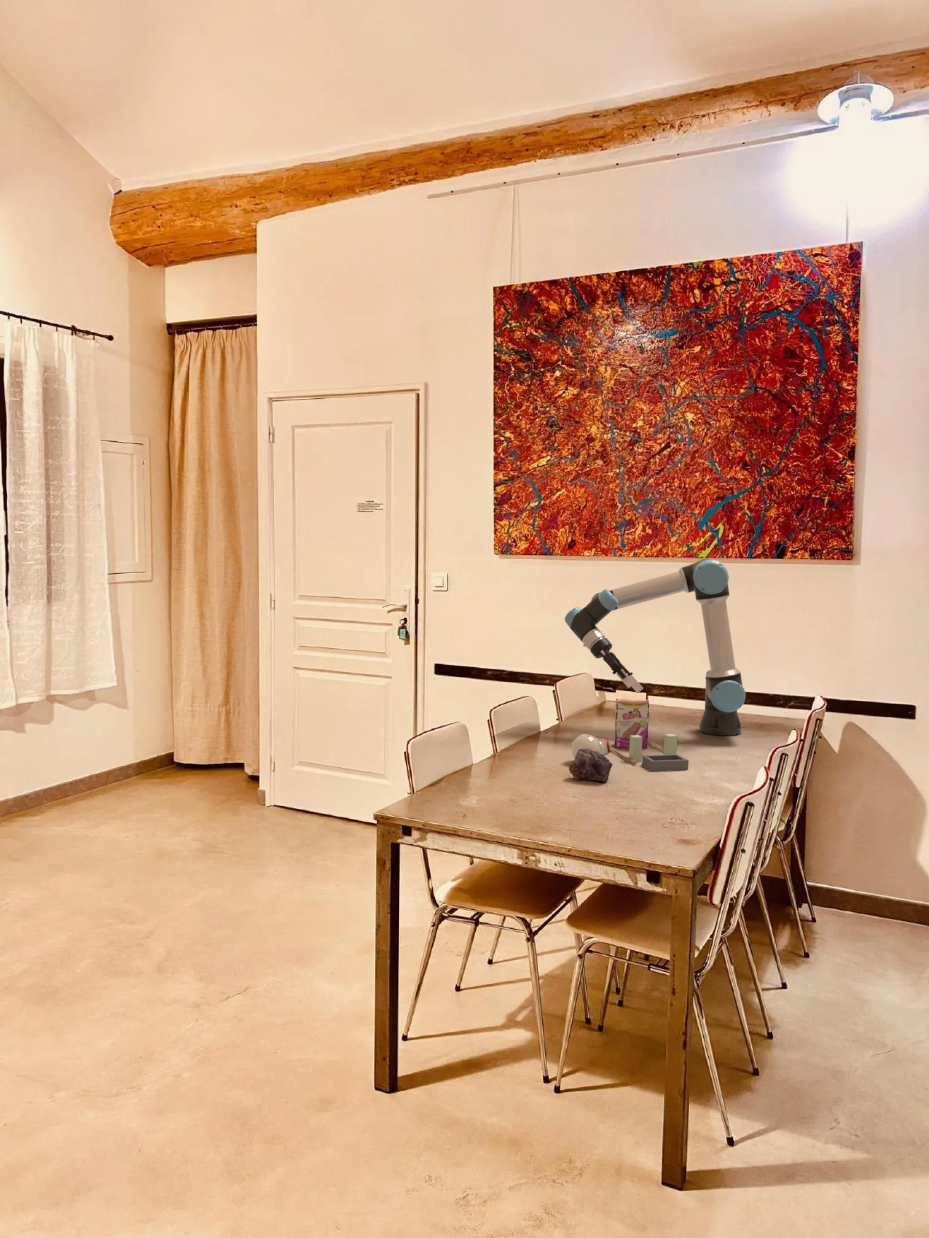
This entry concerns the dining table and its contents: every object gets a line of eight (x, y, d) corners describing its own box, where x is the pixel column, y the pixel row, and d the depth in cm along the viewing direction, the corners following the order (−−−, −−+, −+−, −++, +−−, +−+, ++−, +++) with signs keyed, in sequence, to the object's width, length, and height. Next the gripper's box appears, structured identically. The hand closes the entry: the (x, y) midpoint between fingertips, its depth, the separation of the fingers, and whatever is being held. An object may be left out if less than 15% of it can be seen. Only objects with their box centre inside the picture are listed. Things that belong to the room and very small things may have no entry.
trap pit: (677, 763, 309) (677, 754, 309) (688, 769, 301) (688, 760, 301) (642, 764, 306) (642, 755, 306) (652, 771, 299) (652, 761, 298)
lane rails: (652, 744, 335) (652, 741, 335) (685, 762, 310) (685, 759, 309) (603, 746, 331) (603, 743, 331) (633, 765, 306) (633, 761, 306)
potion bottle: (573, 770, 304) (596, 766, 316) (596, 755, 299) (619, 753, 311) (560, 743, 307) (584, 741, 319) (583, 729, 302) (607, 727, 314)
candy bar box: (614, 748, 329) (616, 700, 327) (613, 744, 334) (615, 698, 332) (648, 749, 328) (649, 701, 326) (646, 746, 333) (648, 699, 331)
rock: (602, 789, 281) (613, 780, 290) (607, 761, 280) (618, 753, 289) (565, 778, 286) (576, 769, 295) (570, 750, 285) (581, 743, 294)
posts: (672, 757, 316) (673, 733, 315) (676, 760, 313) (677, 735, 312) (629, 759, 313) (629, 735, 312) (632, 761, 310) (633, 737, 309)
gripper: (599, 656, 357) (636, 699, 348) (580, 644, 334) (619, 690, 326) (614, 643, 355) (651, 685, 347) (596, 630, 333) (635, 675, 324)
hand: (636, 688), depth 336 cm, fingers open, 13 cm apart
